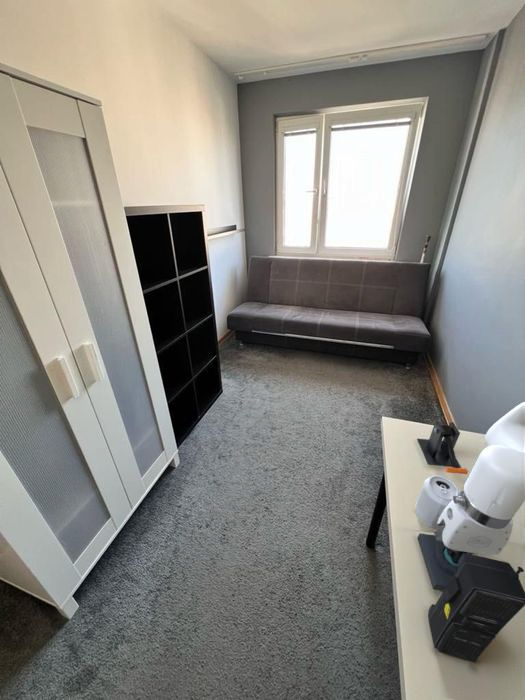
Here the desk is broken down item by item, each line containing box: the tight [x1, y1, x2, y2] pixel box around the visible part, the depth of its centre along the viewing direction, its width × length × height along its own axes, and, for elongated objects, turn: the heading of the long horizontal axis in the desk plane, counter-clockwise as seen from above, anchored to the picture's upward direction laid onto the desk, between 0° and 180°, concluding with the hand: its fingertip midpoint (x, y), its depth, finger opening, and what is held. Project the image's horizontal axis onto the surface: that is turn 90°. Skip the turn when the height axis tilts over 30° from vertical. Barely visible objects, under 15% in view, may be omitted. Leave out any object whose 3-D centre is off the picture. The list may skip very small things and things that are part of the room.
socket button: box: [443, 548, 458, 567], centre depth 60 cm, size 4×4×2 cm
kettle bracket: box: [416, 420, 462, 468], centre depth 85 cm, size 10×9×12 cm
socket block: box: [417, 533, 473, 591], centre depth 61 cm, size 10×10×4 cm
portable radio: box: [427, 553, 525, 663], centre depth 46 cm, size 8×6×25 cm
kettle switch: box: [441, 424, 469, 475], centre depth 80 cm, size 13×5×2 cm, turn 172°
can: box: [414, 475, 460, 530], centre depth 68 cm, size 8×8×12 cm
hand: (453, 555), depth 60 cm, fingers closed
